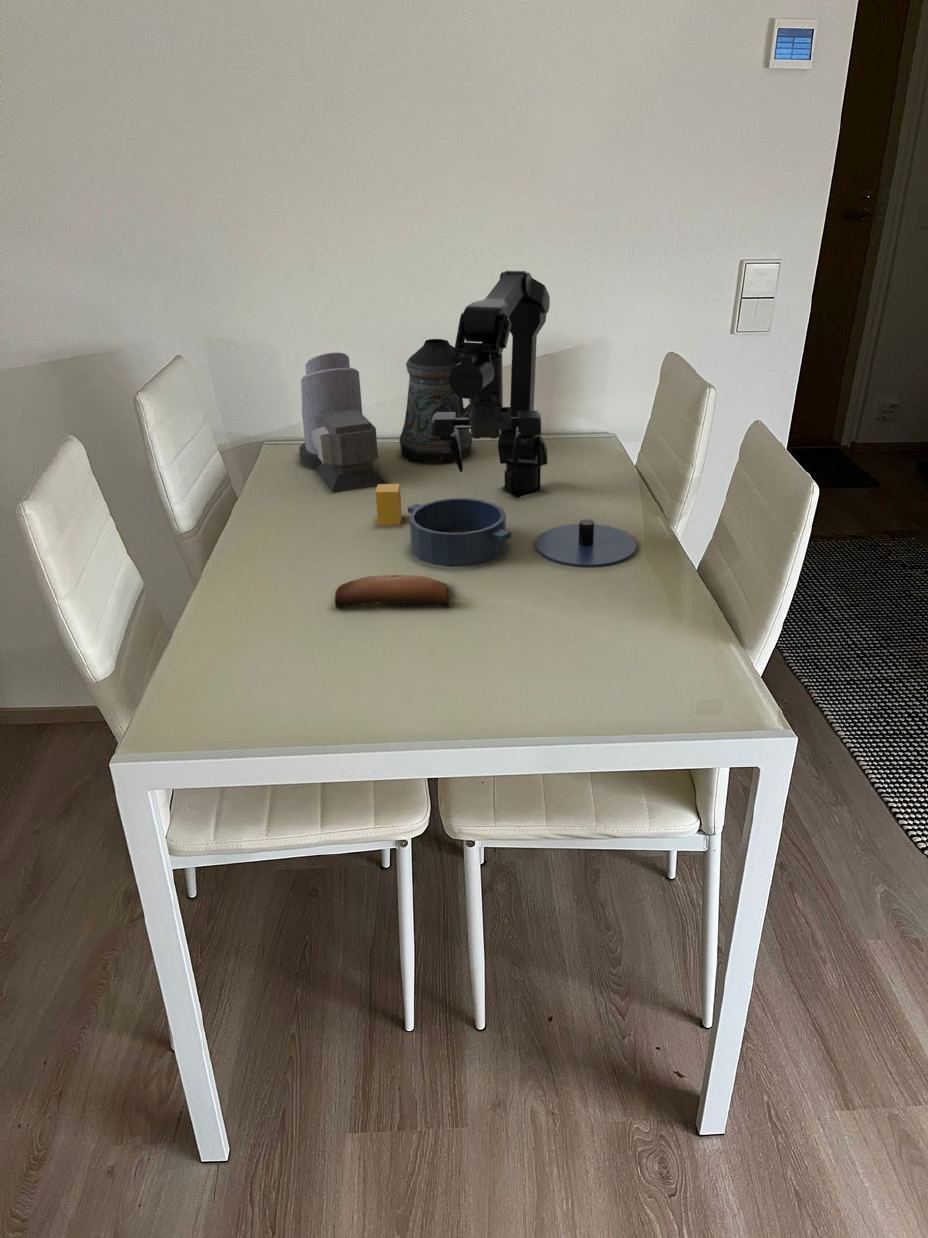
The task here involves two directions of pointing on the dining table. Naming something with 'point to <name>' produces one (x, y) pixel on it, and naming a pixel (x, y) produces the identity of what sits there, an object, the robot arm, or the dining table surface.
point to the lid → (586, 545)
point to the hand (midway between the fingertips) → (487, 470)
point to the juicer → (337, 425)
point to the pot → (457, 547)
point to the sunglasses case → (391, 590)
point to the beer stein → (432, 404)
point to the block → (388, 504)
